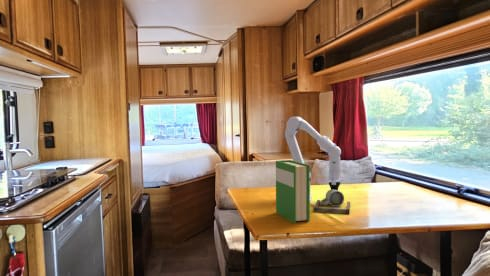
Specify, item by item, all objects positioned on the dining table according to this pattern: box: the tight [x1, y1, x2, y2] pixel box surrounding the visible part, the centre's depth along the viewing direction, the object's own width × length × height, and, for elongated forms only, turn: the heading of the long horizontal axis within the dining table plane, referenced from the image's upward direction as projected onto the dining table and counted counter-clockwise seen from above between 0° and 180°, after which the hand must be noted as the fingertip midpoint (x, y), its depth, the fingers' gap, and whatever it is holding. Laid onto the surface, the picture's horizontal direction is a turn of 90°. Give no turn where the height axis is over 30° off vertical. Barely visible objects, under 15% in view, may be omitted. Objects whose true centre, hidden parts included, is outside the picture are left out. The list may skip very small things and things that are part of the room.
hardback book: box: [275, 159, 311, 224], centre depth 159 cm, size 18×7×24 cm, turn 20°
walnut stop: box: [313, 199, 351, 215], centre depth 173 cm, size 16×15×2 cm
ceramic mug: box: [320, 189, 345, 208], centre depth 180 cm, size 11×8×8 cm
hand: (334, 196), depth 186 cm, fingers closed
